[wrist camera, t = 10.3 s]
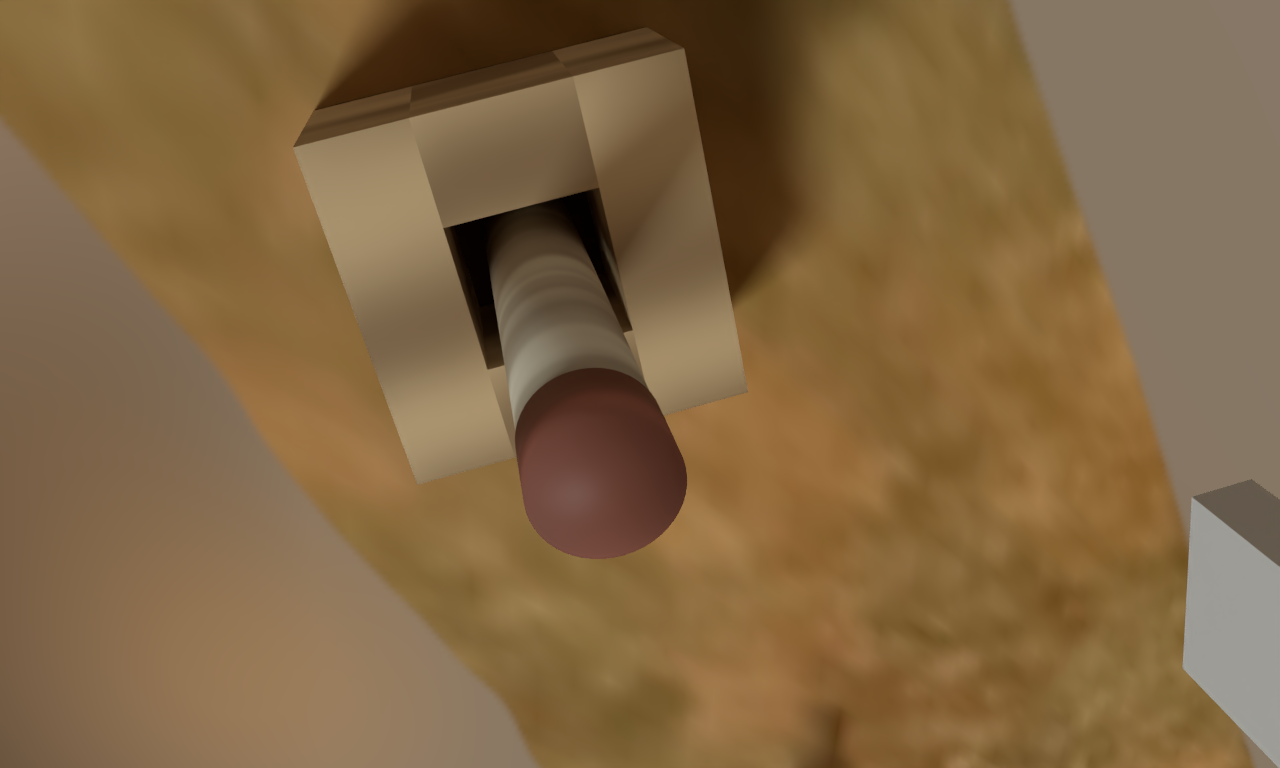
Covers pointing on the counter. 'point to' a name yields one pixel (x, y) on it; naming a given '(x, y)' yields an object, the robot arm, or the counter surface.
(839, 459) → the counter surface
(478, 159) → the bead block
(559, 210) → the brown-tipped rod
